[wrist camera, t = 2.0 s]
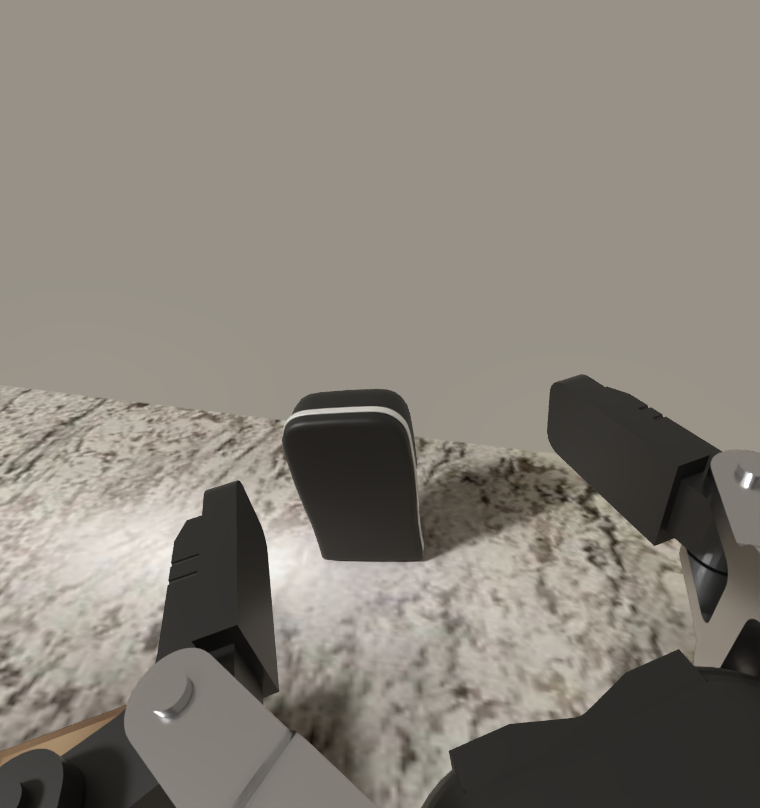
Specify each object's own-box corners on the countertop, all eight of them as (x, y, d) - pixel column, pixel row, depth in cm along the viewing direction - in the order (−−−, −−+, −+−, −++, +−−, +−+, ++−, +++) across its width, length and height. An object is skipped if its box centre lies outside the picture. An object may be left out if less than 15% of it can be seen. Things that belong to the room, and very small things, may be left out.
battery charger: (427, 516, 30) (411, 375, 23) (426, 564, 27) (406, 416, 20) (331, 517, 31) (290, 383, 25) (319, 563, 28) (268, 423, 22)
